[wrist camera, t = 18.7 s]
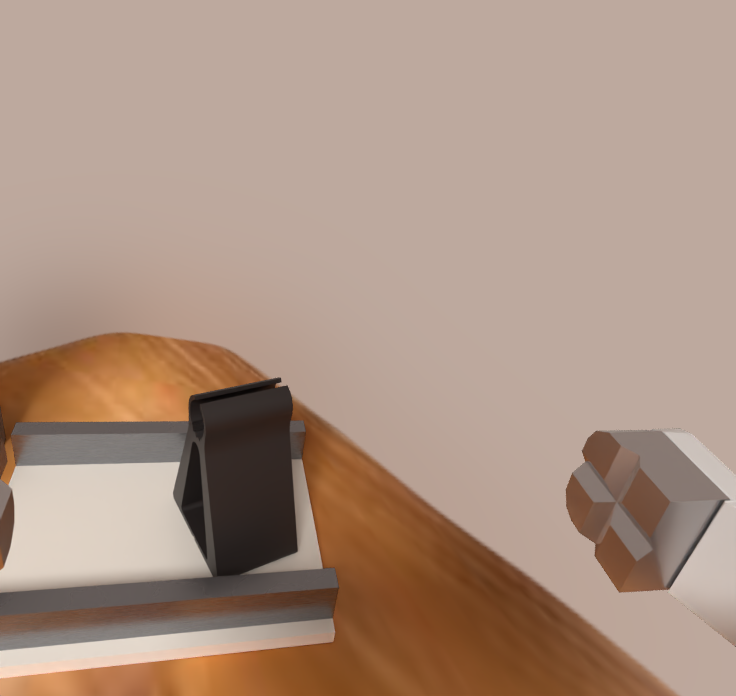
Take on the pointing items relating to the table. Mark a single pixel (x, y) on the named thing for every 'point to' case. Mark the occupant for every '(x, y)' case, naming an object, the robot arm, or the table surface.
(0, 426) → the candle holder
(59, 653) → the track base
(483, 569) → the table surface
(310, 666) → the table surface
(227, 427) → the phone stand
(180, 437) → the track rails
